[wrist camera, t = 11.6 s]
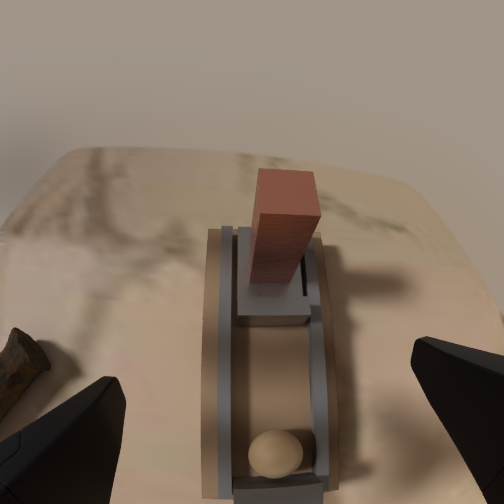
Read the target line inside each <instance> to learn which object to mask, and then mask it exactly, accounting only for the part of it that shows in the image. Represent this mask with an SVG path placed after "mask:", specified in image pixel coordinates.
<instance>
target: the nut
mask: <svg viewBox="0 0 504 504" xmlns="http://www.w3.org/2000/svg"><path fill="white" fill-rule="evenodd" d="M248 457H249V462H250V464H251V466H252V468H253V469H254V470H255V471H256V472H257V473H259V474H260V475H262V476H264V477H267V478H282V477H286V476H288V475H290V474H291V473H293V472H294V471H295V470H296V469H297V468H298V467H299V465H300V464H301V461H302V458H303V449H302V446H301V444H300V442H299V440H298V439H297V438H296V437H295V436H293V435H292V434H290V433H288V432H286V431H282V430H271V431H267V432H264V433H262V434H261V435H259V436H258V437H256V438H255V439H254V441H253V442H252V443H251V445H250V448H249V452H248Z"/></svg>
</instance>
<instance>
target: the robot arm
mask: <svg viewBox="0 0 504 504" xmlns="http://www.w3.org/2000/svg"><path fill="white" fill-rule="evenodd" d="M411 367H412V370H413V372H414V373H415V375H416V377H417V379H418V381H419V383H420V385H421V387H422V389H423V391H424V393H425V395H426V397H427V399H428V401H429V403H430V405H431V406H432V408H433V409H434V411H435V413H436V414H437V416H438V417H439V419H440V421H441V422H442V424H443V425H444V427H445V429H446V430H447V432H448V434H449V435H450V437H451V439H452V440H453V442H454V444H455V445H456V447H457V449H458V450H459V452H460V454H461V456H462V457H463V459H464V461H465V463H466V464H467V466H468V468H469V470H470V472H471V473H472V475H473V477H474V479H475V481H476V483H477V484H478V486H479V488H480V490H481V492H482V494H483V496H484V498H485V500H486V502H487V504H504V356H502V355H498V354H494V353H490V352H486V351H482V350H478V349H474V348H470V347H466V346H462V345H458V344H454V343H451V342H447V341H443V340H439V339H436V338H432V337H428V336H425V337H422V338H419V339H417V340H416V341H415V343H414V347H413V352H412V356H411ZM125 410H126V399H125V396H124V393H123V391H122V388H121V385H120V383H119V380H118V379H117V378H116V377H112V376H104V377H102V378H100V379H99V380H97V381H96V382H94V383H92V384H91V385H89V386H88V387H86V388H85V389H83V390H82V391H80V392H79V393H77V394H76V395H74V396H73V397H71V398H70V399H68V400H66V401H65V402H63V403H62V404H60V405H59V406H57V407H56V408H54V409H52V410H51V411H49V412H48V413H46V414H45V415H43V416H42V417H40V418H38V419H37V420H35V421H34V422H32V423H30V424H29V425H27V426H26V427H24V428H23V429H22V431H21V430H19V431H18V432H16V433H15V434H13V435H11V436H10V437H8V438H6V439H5V440H3V441H1V442H0V504H109V503H110V497H111V492H112V487H113V482H114V477H115V472H116V468H117V463H118V459H119V454H120V449H121V443H122V434H123V426H124V418H125Z"/></svg>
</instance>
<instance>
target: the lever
mask: <svg viewBox="0 0 504 504" xmlns="http://www.w3.org/2000/svg"><path fill="white" fill-rule="evenodd" d="M320 217H321V212H320V207H319V201H318V195H317V190H316V185H315V180H314V174H313V172H308V171H295V170H279V169H260V168H259V170H258V178H257V186H256V194H255V202H254V210H253V218H252V226H251V227H238V246H237V326H302V325H303V323H304V322H305V321H306V320H307V319H308V318H309V317H310V315H311V309H310V297H309V296H303V292H302V280H301V269H300V261H301V259H302V257H303V255H304V253H305V250H306V248H307V246H308V244H309V242H310V240H311V237H312V235H313V233H314V231H315V229H316V226H317V224H318V222H319V220H320Z"/></svg>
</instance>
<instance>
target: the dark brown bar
mask: <svg viewBox="0 0 504 504" xmlns="http://www.w3.org/2000/svg"><path fill="white" fill-rule="evenodd" d="M50 369H51V363H50V361H49V360H48V359H47V357H46V355H45V353H44V351H43V350H42V349H41V347H40V346H39V345H38V344H37V343H36V342H35V341H34V340H33V339H32V338H31V337H30V336H29V335H28V334H26V333H24V332H23V331H21V330H20V329H18V328H15V327H14V328H13V329H12V330H11V333H10V335H9V338H8V342H7V344H6V346H5V348H4V349H3V351H2V352H1V353H0V421H1V419H2V417H3V416H4V414H5V413H6V412H7V411H8V409H9V408H10V407H11V406H12V405H13V404H14V403H15V402H16V401H17V400H18V399H19V398H20V396H21V394H22V392H23V391H24V390H25V388H26V387H27V386H28V385H29V384H30V382H31V381H32V380H33V378H34V377H35V376H36V375H37V374H38V373H39V372H41V371H43V370H50Z"/></svg>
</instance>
